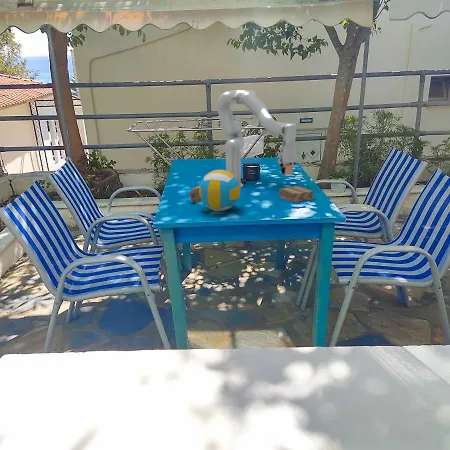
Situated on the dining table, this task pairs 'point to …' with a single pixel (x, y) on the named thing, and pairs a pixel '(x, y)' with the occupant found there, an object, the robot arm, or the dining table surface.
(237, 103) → the robot arm
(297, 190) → the walnut block
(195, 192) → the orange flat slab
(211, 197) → the volleyball
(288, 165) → the terracotta block
